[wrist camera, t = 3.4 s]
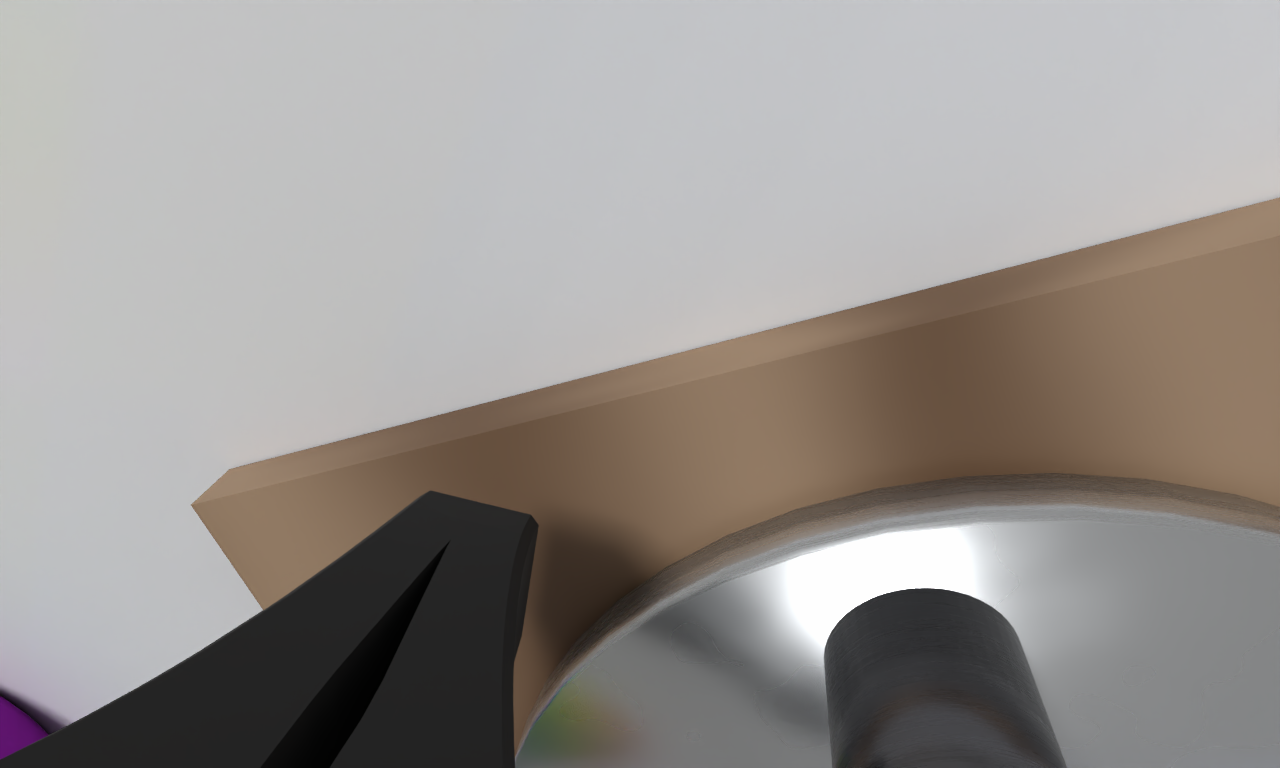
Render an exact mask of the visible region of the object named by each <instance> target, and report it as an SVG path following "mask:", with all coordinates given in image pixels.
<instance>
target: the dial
mask: <svg viewBox="0 0 1280 768" xmlns="http://www.w3.org/2000/svg"><path fill="white" fill-rule="evenodd" d="M515 768H1280V507H1278V506H1275V505H1272V504H1268V503H1265V502H1261V501H1258V500H1255V499H1251V498H1248V497H1244V496H1241V495H1237V494H1232V493H1226V492H1220V491H1215V490H1209V489H1203V488H1197V487H1191V486H1186V485H1180V484H1174V483H1168V482H1163V481H1157V480H1151V479H1143V478H1127V477H1112V476H1097V475H1081V474H1066V473H1036V474H1009V475H983V476H962V477H955V478H948V479H941V480H934V481H927V482H920V483H912V484H905V485H898V486H891V487H884V488H877V489H873V490H869V491H865V492H861V493H857V494H853V495H849V496H846V497H842V498H838V499H834V500H830V501H826V502H822V503H818V504H814V505H810V506H806V507H802V508H798V509H795V510H793V511H790V512H787V513H785V514H782V515H779V516H777V517H774V518H771V519H769V520H766V521H763V522H760V523H758V524H755V525H752V526H750V527H747V528H744V529H742V530H739V531H736V532H734V533H731V534H728V535H726V536H724V537H722V538H720V539H719V540H717V541H715V542H713V543H711V544H709V545H707V546H705V547H703V548H701V549H699V550H697V551H695V552H693V553H692V554H690V555H688V556H686V557H684V558H682V559H680V560H678V561H676V562H674V563H672V564H670V565H668V566H667V567H665V568H664V569H662V570H661V571H659V572H658V573H657V574H655V575H654V576H652V577H651V578H649V579H648V580H647V581H645V582H644V583H642V584H641V585H639V586H638V587H637V588H635V589H634V590H632V591H631V592H629V593H628V594H627V595H625V596H624V597H622V598H621V599H620V600H618V601H617V602H616V603H615V604H613V605H612V606H611V607H610V608H609V609H608V610H607V611H606V612H605V613H604V614H603V615H602V616H601V617H600V618H599V619H598V620H597V621H596V622H595V623H593V624H592V625H591V626H590V627H589V628H588V629H587V630H586V631H585V632H584V633H583V634H582V635H581V636H580V637H579V638H578V639H577V640H576V641H575V642H574V644H573V645H572V646H571V648H570V649H569V650H568V652H567V653H566V654H565V656H564V657H563V658H562V660H561V661H560V662H559V664H558V665H557V666H556V668H555V669H554V670H553V672H552V673H551V674H550V676H549V677H548V678H547V680H546V682H545V684H544V686H543V688H542V690H541V692H540V694H539V696H538V698H537V700H536V702H535V704H534V706H533V708H532V710H531V712H530V714H529V716H528V718H527V721H526V724H525V727H524V731H523V734H522V737H521V740H520V743H519V746H518V749H517V752H516V755H515Z"/></svg>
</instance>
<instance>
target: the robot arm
mask: <svg viewBox="0 0 1280 768" xmlns="http://www.w3.org/2000/svg"><path fill="white" fill-rule="evenodd" d="M538 527H539V525H538V523H537V522H536V521H535V519H534V518H533V517H532V515H530V514H526V513H522V512H518V511H514V510H510V509H506V508H501V507H497V506H493V505H489V504H485V503H481V502H477V501H472V500H468V499H464V498H460V497H456V496H452V495H448V494H443V493H439V492H435V491H431V490H430V491H428V492H426V493H425V494H423V495H421V496H420V497H418V498H417V499H416V500H414V501H413V502H412V503H410V504H409V505H408V506H407V507H405V508H404V509H403V510H401V511H400V512H399V513H398V514H396V515H395V516H394V517H392V518H391V519H390V520H388V521H387V522H386V523H385V524H383V525H382V526H381V527H379V528H378V529H377V530H375V531H374V532H373V533H371V534H370V535H369V536H367V537H366V538H365V539H363V540H362V541H361V542H359V543H358V544H357V545H355V546H354V547H353V548H351V549H350V550H349V551H347V552H346V553H345V554H343V555H342V556H341V557H339V558H338V559H337V560H335V561H334V562H332V563H331V564H329V565H328V566H327V567H325V568H324V569H322V570H321V571H319V572H318V573H317V574H315V575H314V576H312V577H311V578H310V579H308V580H307V581H305V582H304V583H302V584H301V585H300V586H298V587H297V588H295V589H294V590H293V591H291V592H290V593H288V594H287V595H285V596H284V597H283V598H281V599H280V600H278V601H277V602H275V603H274V604H272V605H271V606H269V607H268V608H266V609H265V610H263V611H262V612H260V613H258V614H257V615H255V616H254V617H252V618H251V619H249V620H247V621H246V622H244V623H243V624H241V625H240V626H238V627H237V628H235V629H233V630H232V631H230V632H229V633H227V634H226V635H224V636H222V637H221V638H219V639H218V640H216V641H215V642H213V643H211V644H210V645H208V646H207V647H205V648H204V649H202V650H201V651H199V652H197V653H196V654H194V655H192V656H191V657H189V658H187V659H186V660H184V661H182V662H181V663H179V664H177V665H176V666H174V667H172V668H171V669H169V670H167V671H166V672H164V673H162V674H160V675H159V676H157V677H155V678H154V679H152V680H150V681H148V682H147V683H145V684H143V685H141V686H140V687H138V688H136V689H134V690H133V691H131V692H129V693H127V694H125V695H123V696H122V697H120V698H118V699H116V700H114V701H112V702H111V703H109V704H107V705H105V706H103V707H102V708H100V709H98V710H96V711H94V712H92V713H91V714H89V715H87V716H85V717H83V718H81V719H79V720H77V721H76V722H74V723H72V724H70V725H68V726H66V727H64V728H62V729H60V730H58V731H56V732H54V733H52V734H50V735H48V736H46V737H44V738H42V739H40V740H38V741H36V742H34V743H32V744H30V745H28V746H26V747H24V748H22V749H20V750H18V751H16V752H14V753H12V754H10V755H8V756H6V757H4V758H2V759H0V768H515V752H514V712H513V676H514V661H515V657H516V654H517V650H518V647H519V644H520V640H521V637H522V631H523V624H524V618H525V612H526V605H527V599H528V592H529V586H530V579H531V573H532V566H533V560H534V553H535V547H536V540H537V534H538Z"/></svg>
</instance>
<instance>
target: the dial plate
mask: <svg viewBox="0 0 1280 768" xmlns="http://www.w3.org/2000/svg"><path fill="white" fill-rule="evenodd" d="M1036 473H1066V474H1081V475H1097V476H1112V477H1127V478H1143V479H1151V480H1157V481H1163V482H1168V483H1174V484H1180V485H1186V486H1191V487H1197V488H1203V489H1209V490H1215V491H1220V492H1226V493H1232V494H1237V495H1241V496H1244V497H1248V498H1251V499H1255V500H1258V501H1261V502H1265V503H1268V504H1272V505H1275V506H1278V507H1280V198H1277V199H1273V200H1269V201H1265V202H1261V203H1257V204H1253V205H1249V206H1246V207H1242V208H1238V209H1234V210H1230V211H1226V212H1222V213H1219V214H1215V215H1211V216H1207V217H1203V218H1199V219H1195V220H1191V221H1188V222H1184V223H1180V224H1176V225H1172V226H1168V227H1164V228H1161V229H1157V230H1153V231H1149V232H1145V233H1141V234H1137V235H1133V236H1130V237H1126V238H1122V239H1118V240H1114V241H1110V242H1106V243H1103V244H1099V245H1095V246H1091V247H1087V248H1083V249H1079V250H1075V251H1072V252H1068V253H1064V254H1060V255H1056V256H1052V257H1048V258H1045V259H1041V260H1037V261H1033V262H1029V263H1025V264H1021V265H1017V266H1014V267H1010V268H1006V269H1002V270H998V271H994V272H990V273H987V274H983V275H979V276H975V277H971V278H967V279H963V280H959V281H956V282H952V283H948V284H944V285H940V286H936V287H932V288H929V289H925V290H921V291H917V292H913V293H909V294H905V295H901V296H898V297H894V298H890V299H886V300H882V301H878V302H874V303H871V304H867V305H863V306H859V307H855V308H851V309H847V310H843V311H840V312H836V313H832V314H828V315H824V316H820V317H816V318H813V319H809V320H805V321H801V322H797V323H793V324H789V325H785V326H782V327H778V328H774V329H770V330H766V331H762V332H758V333H755V334H751V335H747V336H743V337H739V338H735V339H731V340H727V341H724V342H720V343H716V344H712V345H708V346H704V347H700V348H697V349H693V350H689V351H685V352H681V353H677V354H673V355H669V356H666V357H662V358H658V359H654V360H650V361H646V362H642V363H639V364H635V365H631V366H627V367H623V368H619V369H615V370H611V371H608V372H604V373H600V374H596V375H592V376H588V377H584V378H581V379H577V380H573V381H569V382H565V383H561V384H557V385H553V386H550V387H546V388H542V389H538V390H534V391H530V392H526V393H523V394H519V395H515V396H511V397H507V398H503V399H499V400H495V401H492V402H488V403H484V404H480V405H476V406H472V407H468V408H465V409H461V410H457V411H453V412H449V413H445V414H441V415H437V416H434V417H430V418H426V419H422V420H418V421H414V422H410V423H407V424H403V425H399V426H395V427H391V428H387V429H383V430H379V431H376V432H372V433H368V434H364V435H360V436H356V437H352V438H349V439H345V440H341V441H337V442H333V443H329V444H325V445H321V446H318V447H314V448H310V449H306V450H302V451H298V452H294V453H291V454H287V455H283V456H279V457H275V458H271V459H267V460H263V461H260V462H256V463H252V464H248V465H244V466H240V467H236V468H233V469H229V470H228V471H227V472H226V473H225V474H224V475H223V476H222V477H221V478H220V479H218V480H217V481H216V482H215V483H214V484H213V485H212V486H211V487H210V488H209V489H208V490H207V491H205V492H204V493H203V494H202V495H201V496H200V497H199V498H198V499H197V500H196V501H195V502H194V503H192V504H191V506H192V507H193V509H194V510H195V512H196V513H197V514H198V516H199V517H200V519H201V520H202V522H203V523H204V525H205V526H206V527H207V529H208V530H209V532H210V533H211V535H212V536H213V538H214V539H215V541H216V542H217V543H218V545H219V546H220V548H221V549H222V551H223V552H224V554H225V555H226V557H227V558H228V559H229V561H230V562H231V564H232V565H233V567H234V568H235V570H236V571H237V573H238V574H239V575H240V577H241V578H242V580H243V581H244V583H245V584H246V586H247V587H248V588H249V590H250V591H251V593H252V594H253V596H254V597H255V599H256V600H257V602H258V603H259V604H260V606H261V607H262V609H263V610H265V609H266V608H268V607H269V606H271V605H272V604H274V603H275V602H277V601H278V600H280V599H281V598H283V597H284V596H285V595H287V594H288V593H290V592H291V591H293V590H294V589H295V588H297V587H298V586H300V585H301V584H302V583H304V582H305V581H307V580H308V579H310V578H311V577H312V576H314V575H315V574H317V573H318V572H319V571H321V570H322V569H324V568H325V567H327V566H328V565H329V564H331V563H332V562H334V561H335V560H337V559H338V558H339V557H341V556H342V555H343V554H345V553H346V552H347V551H349V550H350V549H351V548H353V547H354V546H355V545H357V544H358V543H359V542H361V541H362V540H363V539H365V538H366V537H367V536H369V535H370V534H371V533H373V532H374V531H375V530H377V529H378V528H379V527H381V526H382V525H383V524H385V523H386V522H387V521H388V520H390V519H391V518H392V517H394V516H395V515H396V514H398V513H399V512H400V511H401V510H403V509H404V508H405V507H407V506H408V505H409V504H410V503H412V502H413V501H414V500H416V499H417V498H418V497H420V496H421V495H423V494H425V493H426V492H428V491H430V490H431V491H435V492H439V493H443V494H448V495H452V496H456V497H460V498H464V499H468V500H472V501H477V502H481V503H485V504H489V505H493V506H497V507H501V508H506V509H510V510H514V511H518V512H522V513H526V514H530V515H532V517H533V518H534V519H535V521H536V522H537V523H538V525H539V527H538V534H537V540H536V547H535V553H534V560H533V566H532V573H531V579H530V586H529V592H528V599H527V605H526V612H525V618H524V624H523V631H522V637H521V640H520V644H519V647H518V650H517V654H516V657H515V661H514V676H513V712H514V752H515V755H516V752H517V749H518V746H519V743H520V740H521V737H522V734H523V731H524V727H525V724H526V721H527V718H528V716H529V714H530V712H531V710H532V708H533V706H534V704H535V702H536V700H537V698H538V696H539V694H540V692H541V690H542V688H543V686H544V684H545V682H546V680H547V678H548V677H549V676H550V674H551V673H552V672H553V670H554V669H555V668H556V666H557V665H558V664H559V662H560V661H561V660H562V658H563V657H564V656H565V654H566V653H567V652H568V650H569V649H570V648H571V646H572V645H573V644H574V642H575V641H576V640H577V639H578V638H579V637H580V636H581V635H582V634H583V633H584V632H585V631H586V630H587V629H588V628H589V627H590V626H591V625H592V624H593V623H595V622H596V621H597V620H598V619H599V618H600V617H601V616H602V615H603V614H604V613H605V612H606V611H607V610H608V609H609V608H610V607H611V606H612V605H613V604H615V603H616V602H617V601H618V600H620V599H621V598H622V597H624V596H625V595H627V594H628V593H629V592H631V591H632V590H634V589H635V588H637V587H638V586H639V585H641V584H642V583H644V582H645V581H647V580H648V579H649V578H651V577H652V576H654V575H655V574H657V573H658V572H659V571H661V570H662V569H664V568H665V567H667V566H668V565H670V564H672V563H674V562H676V561H678V560H680V559H682V558H684V557H686V556H688V555H690V554H692V553H693V552H695V551H697V550H699V549H701V548H703V547H705V546H707V545H709V544H711V543H713V542H715V541H717V540H719V539H720V538H722V537H724V536H726V535H728V534H731V533H734V532H736V531H739V530H742V529H744V528H747V527H750V526H752V525H755V524H758V523H760V522H763V521H766V520H769V519H771V518H774V517H777V516H779V515H782V514H785V513H787V512H790V511H793V510H795V509H798V508H802V507H806V506H810V505H814V504H818V503H822V502H826V501H830V500H834V499H838V498H842V497H846V496H849V495H853V494H857V493H861V492H865V491H869V490H873V489H877V488H884V487H891V486H898V485H905V484H912V483H920V482H927V481H934V480H941V479H948V478H955V477H962V476H983V475H1009V474H1036Z"/></svg>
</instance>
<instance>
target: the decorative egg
mask: <svg viewBox="0 0 1280 768" xmlns="http://www.w3.org/2000/svg"><path fill="white" fill-rule="evenodd" d="M48 735H49V734H48V733H47V732H46V731H45V730H44V729H43V728H42V727H41V726H40V725H39V724H37V723H36V722H35V721H34V720H33V719H32V718H31V717H29V716H28V715H27V714H26V713H24V712H23V711H21V710H20V709H19V708H17V707H16V706H14V705H13V704H12V703H10V702H9V701H7V700H6V699H4V698H3V697H2V696H0V759H2V758H4V757H6V756H8V755H10V754H12V753H14V752H16V751H18V750H20V749H22V748H24V747H26V746H28V745H30V744H32V743H34V742H36V741H38V740H40V739H42V738H44V737H46V736H48Z"/></svg>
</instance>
